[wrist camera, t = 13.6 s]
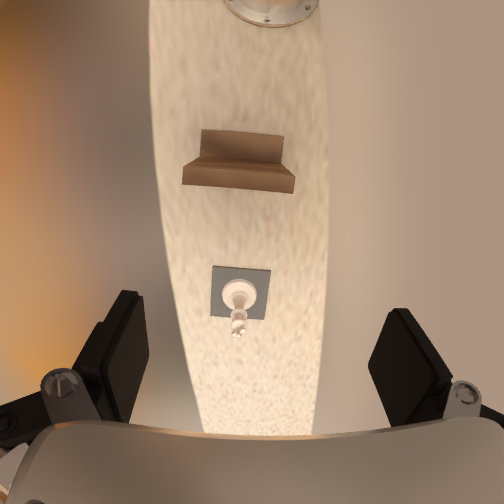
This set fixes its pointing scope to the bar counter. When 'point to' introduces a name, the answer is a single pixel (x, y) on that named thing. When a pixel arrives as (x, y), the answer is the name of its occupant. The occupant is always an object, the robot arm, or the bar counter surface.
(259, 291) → the pad
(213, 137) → the brown piece
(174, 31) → the bar counter surface
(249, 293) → the chess piece
